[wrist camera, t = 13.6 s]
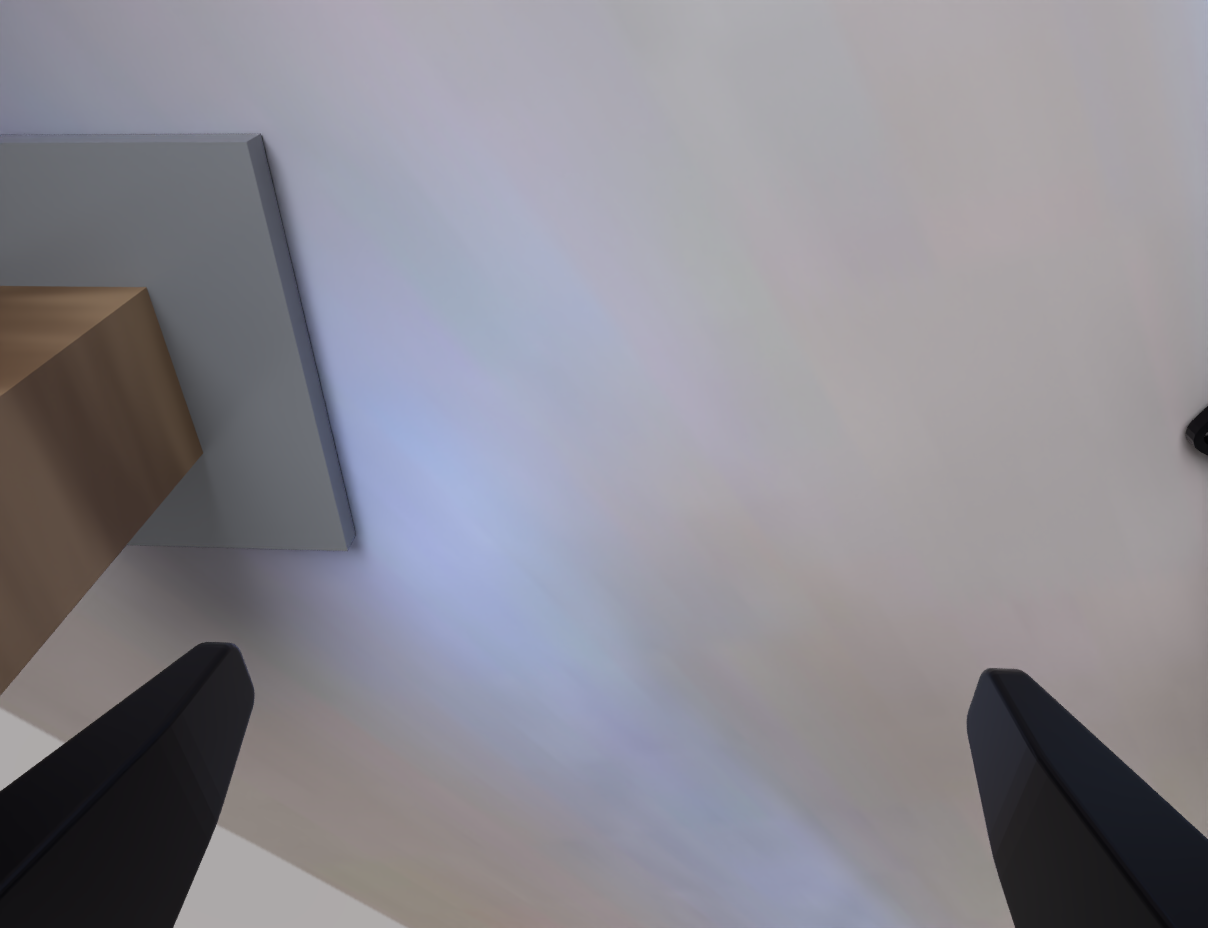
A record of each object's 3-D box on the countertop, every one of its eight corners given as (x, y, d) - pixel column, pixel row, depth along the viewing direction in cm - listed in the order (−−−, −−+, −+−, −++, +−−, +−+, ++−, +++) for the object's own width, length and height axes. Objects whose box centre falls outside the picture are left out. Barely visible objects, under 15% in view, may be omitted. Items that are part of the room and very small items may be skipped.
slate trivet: (260, 133, 19) (246, 142, 19) (355, 534, 26) (347, 551, 26) (-220, 135, 20) (-250, 143, 20) (-8, 524, 27) (-25, 540, 26)
